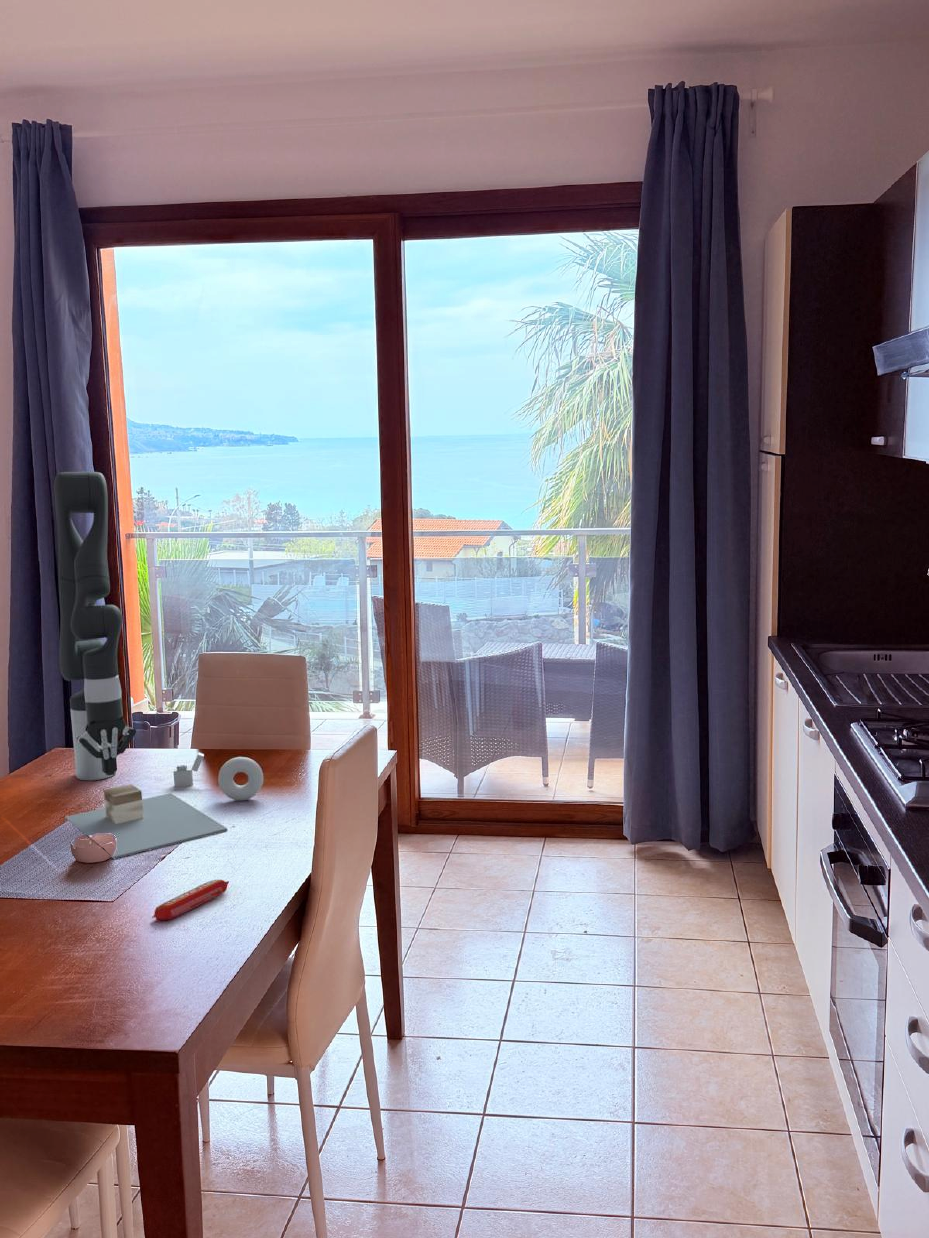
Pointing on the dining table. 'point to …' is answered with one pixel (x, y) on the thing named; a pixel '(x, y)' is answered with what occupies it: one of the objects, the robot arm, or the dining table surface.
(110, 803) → the block
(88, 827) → the mat
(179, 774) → the lighter
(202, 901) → the packaged sausage
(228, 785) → the donut
